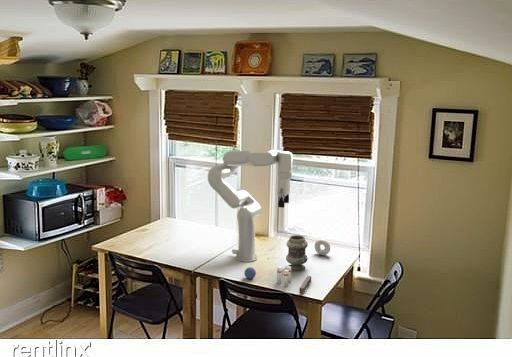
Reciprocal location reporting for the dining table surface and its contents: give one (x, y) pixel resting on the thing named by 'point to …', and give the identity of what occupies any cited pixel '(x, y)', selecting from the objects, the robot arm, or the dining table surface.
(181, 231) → the dining table surface
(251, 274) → the ball
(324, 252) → the donut
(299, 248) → the grey brown vase
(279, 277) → the front pin
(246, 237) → the robot arm
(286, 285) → the pin
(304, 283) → the grey brown bar
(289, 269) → the pin
